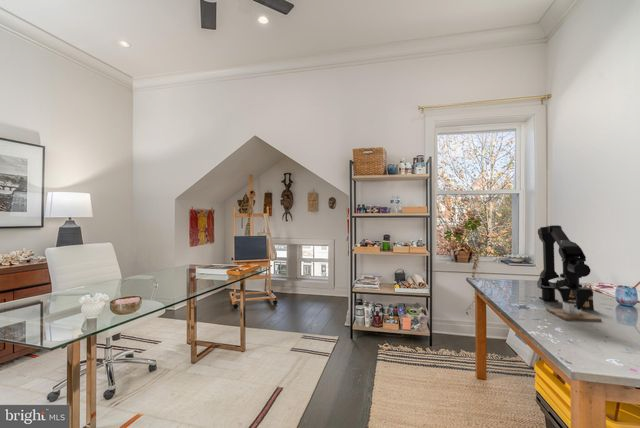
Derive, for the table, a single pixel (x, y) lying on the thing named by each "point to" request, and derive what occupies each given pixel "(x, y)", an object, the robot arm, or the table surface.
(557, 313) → the post base
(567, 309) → the tube
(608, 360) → the table surface
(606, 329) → the table surface
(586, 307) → the ammunition clip
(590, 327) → the table surface
